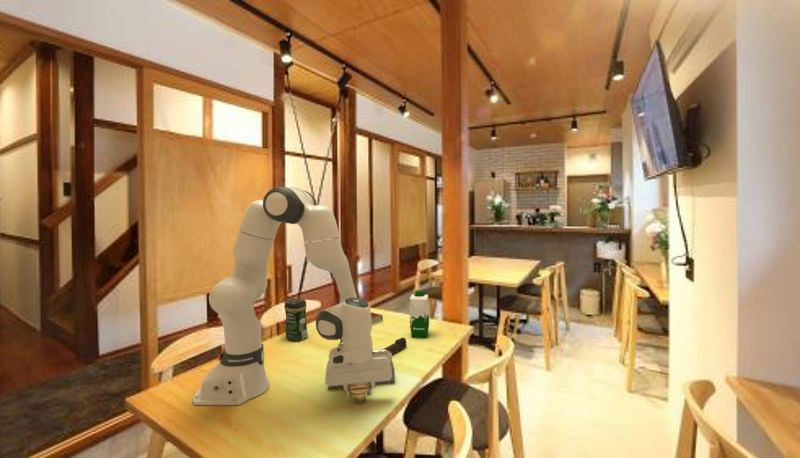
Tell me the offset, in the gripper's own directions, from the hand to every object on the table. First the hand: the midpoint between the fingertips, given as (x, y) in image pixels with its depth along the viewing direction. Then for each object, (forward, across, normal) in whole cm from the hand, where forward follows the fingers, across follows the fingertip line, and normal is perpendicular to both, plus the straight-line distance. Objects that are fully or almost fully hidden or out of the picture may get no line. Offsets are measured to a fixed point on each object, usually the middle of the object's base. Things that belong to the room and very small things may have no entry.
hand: (359, 395), depth 108 cm
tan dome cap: (+2, 0, 0) cm, 2 cm away
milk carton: (+2, -29, -50) cm, 58 cm away
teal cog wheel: (+2, +4, -43) cm, 43 cm away
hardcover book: (+2, -3, -77) cm, 77 cm away
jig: (+2, -1, -15) cm, 15 cm away
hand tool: (+2, -13, -33) cm, 35 cm away
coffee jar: (+2, +27, -58) cm, 64 cm away
